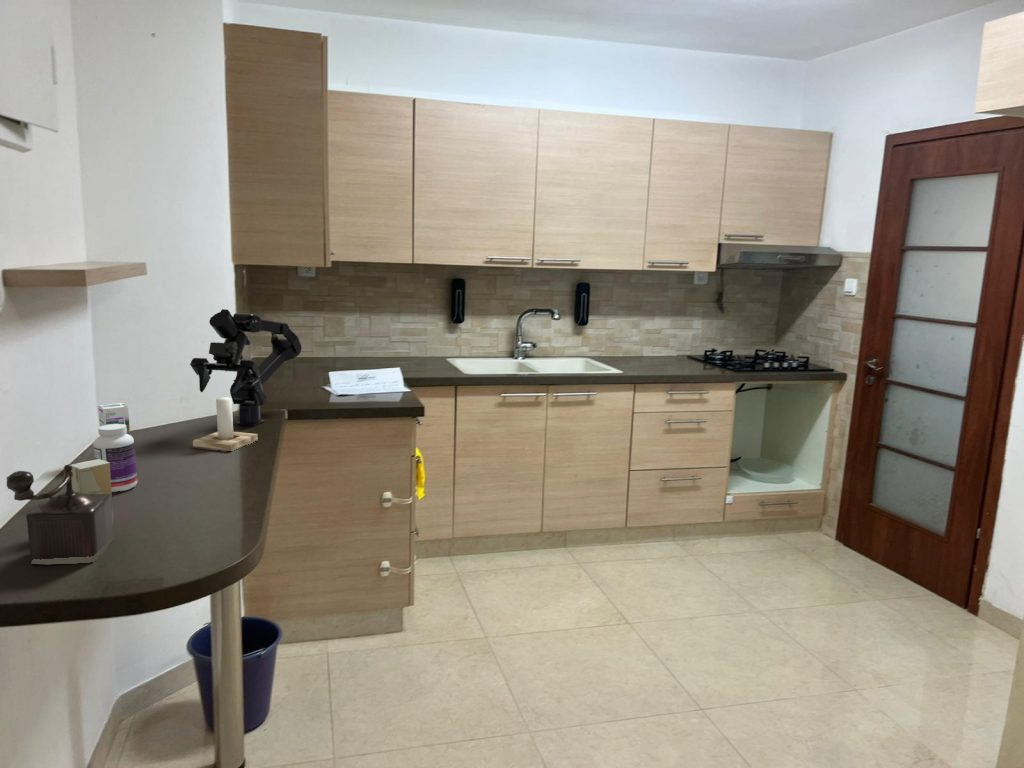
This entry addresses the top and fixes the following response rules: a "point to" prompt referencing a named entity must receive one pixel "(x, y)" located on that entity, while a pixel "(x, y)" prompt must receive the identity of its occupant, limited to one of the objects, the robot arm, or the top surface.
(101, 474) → the skincare box
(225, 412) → the peg
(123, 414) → the syrup box
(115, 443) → the pill bottle
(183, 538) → the top surface
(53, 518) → the manual coffee grinder
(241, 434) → the socket block
